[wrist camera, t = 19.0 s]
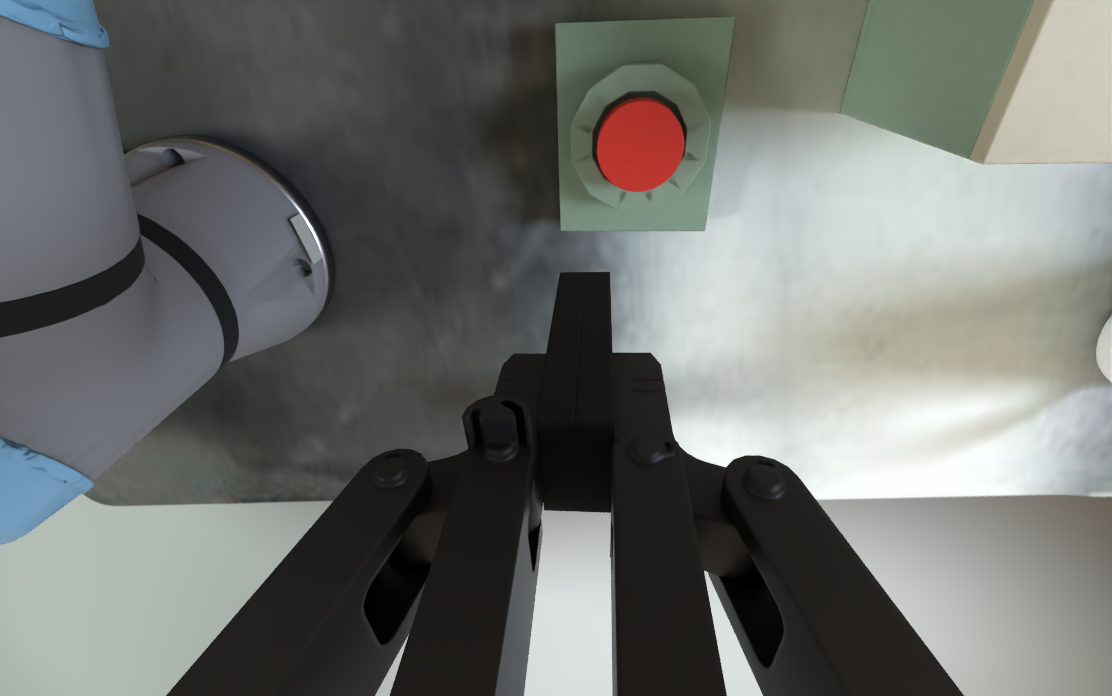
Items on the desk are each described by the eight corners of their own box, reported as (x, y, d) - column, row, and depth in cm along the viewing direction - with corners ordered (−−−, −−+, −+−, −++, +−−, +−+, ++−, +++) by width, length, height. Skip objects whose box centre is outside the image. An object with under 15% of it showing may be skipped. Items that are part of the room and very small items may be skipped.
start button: (598, 97, 25) (597, 101, 24) (684, 95, 25) (689, 99, 23) (596, 184, 28) (596, 192, 26) (675, 183, 27) (679, 192, 26)
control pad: (558, 23, 27) (551, 22, 23) (726, 17, 26) (744, 15, 22) (563, 219, 33) (557, 241, 29) (699, 219, 32) (710, 242, 28)
